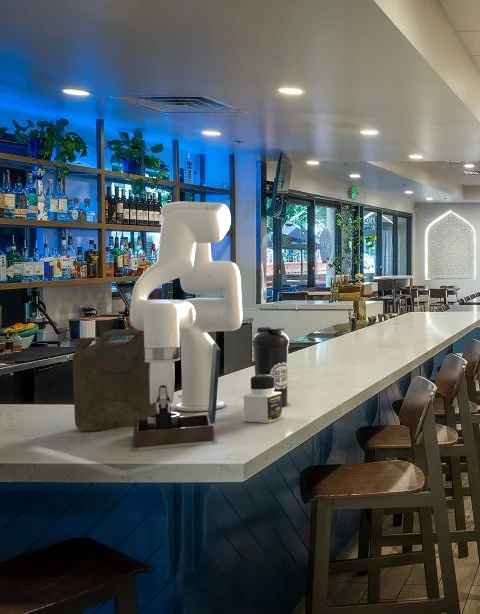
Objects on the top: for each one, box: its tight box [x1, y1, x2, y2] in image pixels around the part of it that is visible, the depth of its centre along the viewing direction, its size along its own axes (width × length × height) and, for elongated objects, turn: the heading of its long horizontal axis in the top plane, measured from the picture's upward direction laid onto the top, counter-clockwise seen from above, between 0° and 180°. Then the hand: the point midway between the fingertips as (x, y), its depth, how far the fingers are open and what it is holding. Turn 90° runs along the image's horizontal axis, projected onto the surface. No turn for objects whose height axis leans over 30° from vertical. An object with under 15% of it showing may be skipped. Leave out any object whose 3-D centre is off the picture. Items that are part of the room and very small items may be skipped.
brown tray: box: [132, 414, 214, 449], centre depth 187 cm, size 17×15×4 cm
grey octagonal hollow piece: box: [148, 411, 181, 430], centre depth 186 cm, size 7×7×6 cm
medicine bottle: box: [243, 375, 283, 424], centre depth 211 cm, size 7×7×12 cm
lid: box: [207, 342, 221, 425], centre depth 190 cm, size 17×15×1 cm
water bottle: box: [251, 326, 290, 408], centre depth 230 cm, size 10×10×23 cm
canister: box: [72, 328, 157, 433], centre depth 200 cm, size 19×8×25 cm, turn 106°
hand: (164, 426), depth 186 cm, fingers open, 9 cm apart
